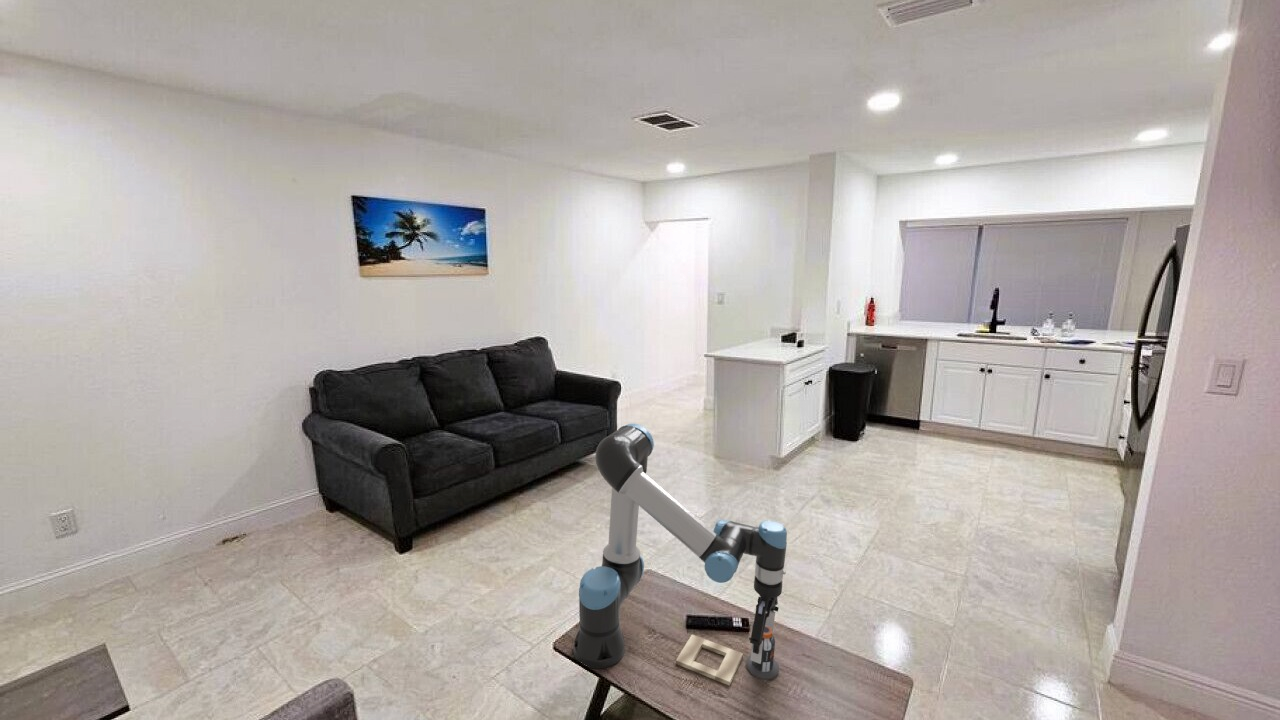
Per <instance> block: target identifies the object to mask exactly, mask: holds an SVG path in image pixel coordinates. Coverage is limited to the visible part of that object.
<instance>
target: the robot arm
mask: <svg viewBox="0 0 1280 720" xmlns="http://www.w3.org/2000/svg"><path fill="white" fill-rule="evenodd" d="M654 445H655V443H654V439H653V435H652V434H651V432H650V431H649V430H648V429H647V428H646V427H645V426H643V425H641V424H638V423H628V424H626V425H622V426H621V427H619V428H617V430H615V431H614V432H612V433H611V434H609V435H608V436H606V437H604V438H603V439H602V440H601V441H600V442H599V444H598V445H597V447H596V449H595V456H594V457H595V458H594V459H595V464H596V465H595V466H596V467H597V469H598V471H599V473H600V475H601V476H602V478H603V479H604V480H605V481H606V482H607V484H608V485H609V486H610V487H611V496H610V497H611V498H610V511H609V513H610V515H609V530H608V531H609V532H608V544H607V545H605V547H604V548H603V550H602V559H601V560H602V561H601V566H596V567H595V568H591V569H589V570H588V571H586V572H584V574H583V575H582V577H581V579H580V582H579V588H578V598H579V599H578V602H579V603H578V606H579V608H578V609H579V619H578V620H579V625H578V628H577V631H576V633H575V637H574V641H573V655H574V658H575V659H576V661H577V660H578V661H580V662H582V663H583V664H585V665H587V666H589V667H588V668H590V667H591V668H590V669H605V668H606V669H607V668H609V667H611V666H614V665H616V664H617V663H619V662H620V660H622V658H623V657H624V654H625V650H626V640H625V637H624V635H623V632H622V629H621V626H620V614H621V613H620V611H621V610H620V609H621V606H622V605H623V603H624V602H625V600H627V598H628V596H629V595H630V594H631V592H632V591H633V590H634V588H635V587H636V586H637V585H638V584H639V583H640V581H641V579H642V576H643V574H644V571H645V563H644V559H643V557H642V556H641V551H640V549H639V547H638V546H637V539H638V537H637V535H638V524H639V510H640V509H639V508H641V509H642V510H643V511H645V512H646V513H647V514H648V515H649V516H650V517H652V518H653V519H654V521H657V522H658V523H659V524H660V525H661V526H662V527H663V528H665V530H666V531H667V532H669V534H671V535H672V536H674V537H675V538H676V539H677V540H678V541H679V542H680V543H682V544H683V545H684V546H685V547H686V548H687V549H688V550H690V551H691V553H693V554H695V556H696V557H698V558H699V560H701V561H702V562H703V563H704V571H705V573H706V575H707V577H708V578H709V579H711V581H714V582H715V583H720V584H723V583H728V582H729V581H730V580H732V578H733V577H734V574H736V572H737V570H738V568H739V565H740V562H741V560H742V558H743V555H744V554H745V555H749V556H755V557H756V559H755V568H754V578H753V579H754V580H753V590H754V591H755V592H756V593H757V594H758V599H757V604H756V605H755V614H754V620H753V625H752V629H751V630H752V631H751V635H750V636H749V638H748V640H749V642H750V644H751V650H750V655H751V661H754V662H757V663H759V664H760V663H761V657H762V646H763V641H762V638H763V634H764V629H765V625H766V626H768V627H770V628H771V629H772V634H773V633H774V630H775V621H776V612H779V607H778V606H777V605H778V604H779V603H778V597H780V596H781V595H782V591H783V584H784V583H783V579H784V575H786V570H784V568H785V563H786V555H787V554H786V552H787V544H788V543H787V540H788V539H787V536H788V531H787V528H786V526H784V525H783V524H782V523H781V522H778V521H773V520H770V521H769V520H763V521H762V522H759V525H758V526H752V525H747V524H744V523H740V522H736V521H733V520H725V519H718V520H717V521H716V523H715V525H714V527H713V530H712V528H710V527H709V526H707V524H705V523H704V522H703V521H702V520H701V519H700V518H698V517H697V516H696V515H694V513H693V512H691V511H690V510H689V509H688V508H686V507H685V506H684V505H683V504H682V503H681V502H679V500H677V499H676V498H675V497H674V496H672V494H670V493H669V492H668V491H667V490H665V488H663V487H662V486H661V485H660V484H659V483H657V482H656V480H654V479H653V478H651V477H650V476H649V475H648V474H647V472H648V471H647V470H648V460H649V459H648V458H649V456H651V454H652V453H653V450H654V447H655V446H654ZM578 661H577V662H578ZM583 664H581V665H582V666H584V665H583Z"/></svg>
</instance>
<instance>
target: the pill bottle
mask: <svg viewBox="0 0 1280 720" xmlns="http://www.w3.org/2000/svg"><path fill="white" fill-rule="evenodd" d="M762 641H763V646H762V657H761V663H760V664H759V663H757V662H754V661H752V665H753V666H754V668H756V669H757V670H759V671H761V672H768V671H770V670H772V668H773V661H774V659H775V648H776V639H775V636H774V635H773V633H772V629H771V628H770V627H768V626H766V625H765V629H764V634H763V638H762Z"/></svg>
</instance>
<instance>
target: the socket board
mask: <svg viewBox="0 0 1280 720" xmlns="http://www.w3.org/2000/svg"><path fill="white" fill-rule="evenodd" d="M702 648H703V649H705V650H708V651H711V652H713V653H716V654H718V655H722V656H724V658H723V660H722V661H721V664H720V666H719V668H718V669H714V668H712V667H709V666H707V665H705V664H703V663H699V662H697V661H695V660H696V659H697V657H698V655H699V653H700V651H701V650H702ZM743 655H744V653H743V652H740V651H737V650H735V649H733V648H730V647H727V646H725V645H721V644H719V643H717V642H713V641H712V640H708V639H705V638H704V637H700V636H697V635H695V634H691V635H690V637H689V639H688V640H687V642H686V643H685V645H684V646H683V648H682V650H681V651H680V653H679V654H678V656H677V658H676V659H675V664H676V665H678V666H681V668H682V667H683V668H685V669H687V670H690V671H693V672H694V673H698V674H700V675H703V676H705V677H707V678H710V679H712V680H715V681H717V682H719V683H722V684H724V685H726V686H729V687H730V685H731V684H732V682H733V680H734V678H735V675H736V674H737V670H738V669H739V666H740V664H741V662H742V659H743V658H744V657H743Z"/></svg>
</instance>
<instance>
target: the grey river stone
mask: <svg viewBox="0 0 1280 720" xmlns="http://www.w3.org/2000/svg"><path fill="white" fill-rule="evenodd" d="M745 662H746V663H745V667H746V669H747V671H748V672H749V674H751V676H754V677H755V678H757V679H759V680H764V681H765V680H767V681H769V680H772V679H775V678H776V677H777V676H778V674H779V670H780V668H779V667H780V666H779V664H778V662H777V660H776V659H775V658H774V661H773V668H772V670H770V671H768V672H761V671H759V670H757V669H756V668H754V666H753V665H752V661H751V654H749V655H748V657H747V658H746V661H745Z"/></svg>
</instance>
